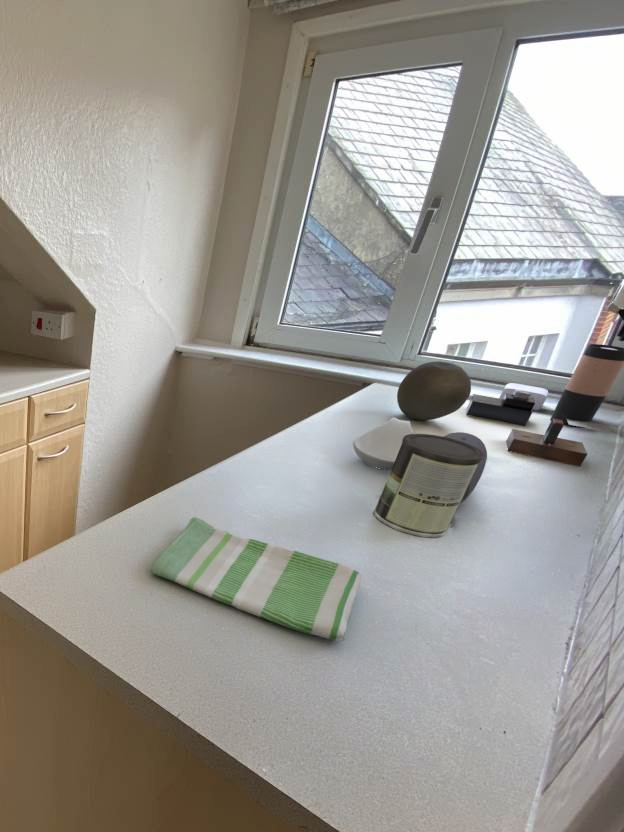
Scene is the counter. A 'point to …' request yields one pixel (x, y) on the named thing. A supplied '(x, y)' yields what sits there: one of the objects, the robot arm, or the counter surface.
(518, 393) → the toaster lever
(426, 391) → the dark brown rounded piece
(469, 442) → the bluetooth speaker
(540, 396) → the charger
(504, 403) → the toaster
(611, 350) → the travel mug
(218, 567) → the dish towel
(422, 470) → the coffee can
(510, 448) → the brown wooden block
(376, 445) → the spoon rest
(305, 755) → the counter surface
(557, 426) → the browning knob
